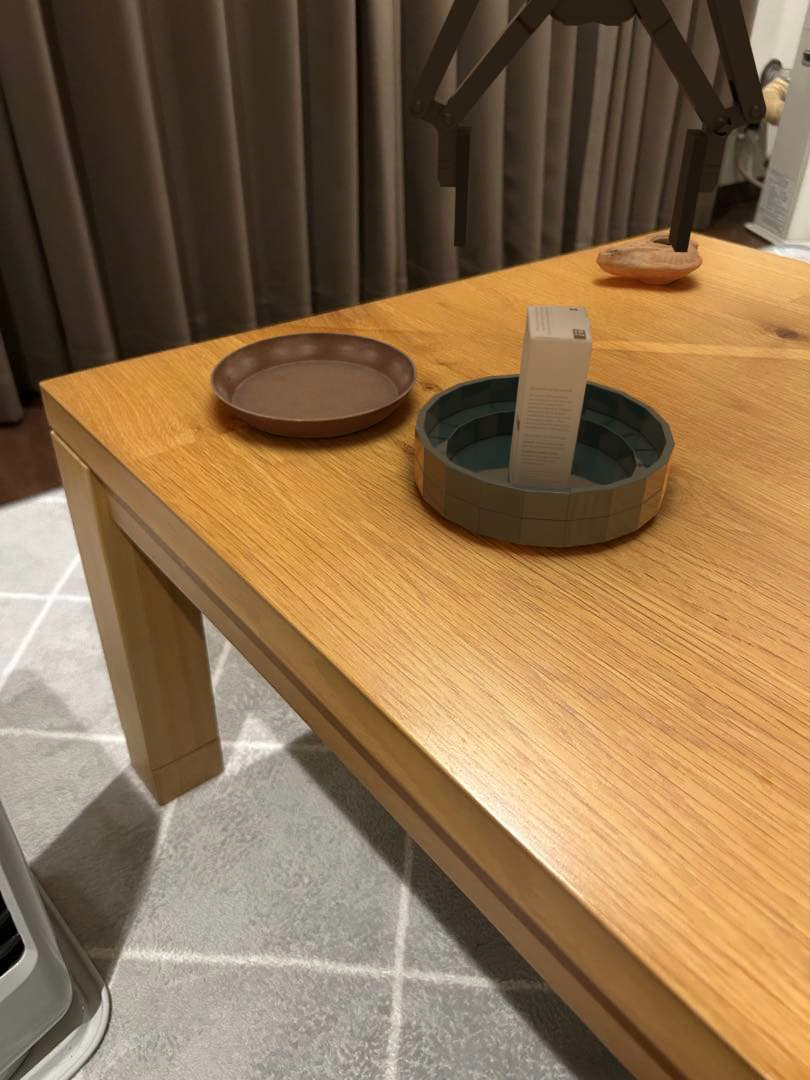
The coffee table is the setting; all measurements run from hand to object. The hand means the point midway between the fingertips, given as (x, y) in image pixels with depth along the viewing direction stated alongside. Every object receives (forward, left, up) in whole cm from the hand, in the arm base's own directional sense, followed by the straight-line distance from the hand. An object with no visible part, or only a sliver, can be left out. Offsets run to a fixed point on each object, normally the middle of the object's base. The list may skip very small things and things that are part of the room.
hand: (568, 243), depth 55 cm
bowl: (0, 0, -18) cm, 18 cm away
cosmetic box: (0, 0, -17) cm, 17 cm away
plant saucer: (+19, -12, -18) cm, 29 cm away
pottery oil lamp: (-14, -50, -18) cm, 55 cm away
